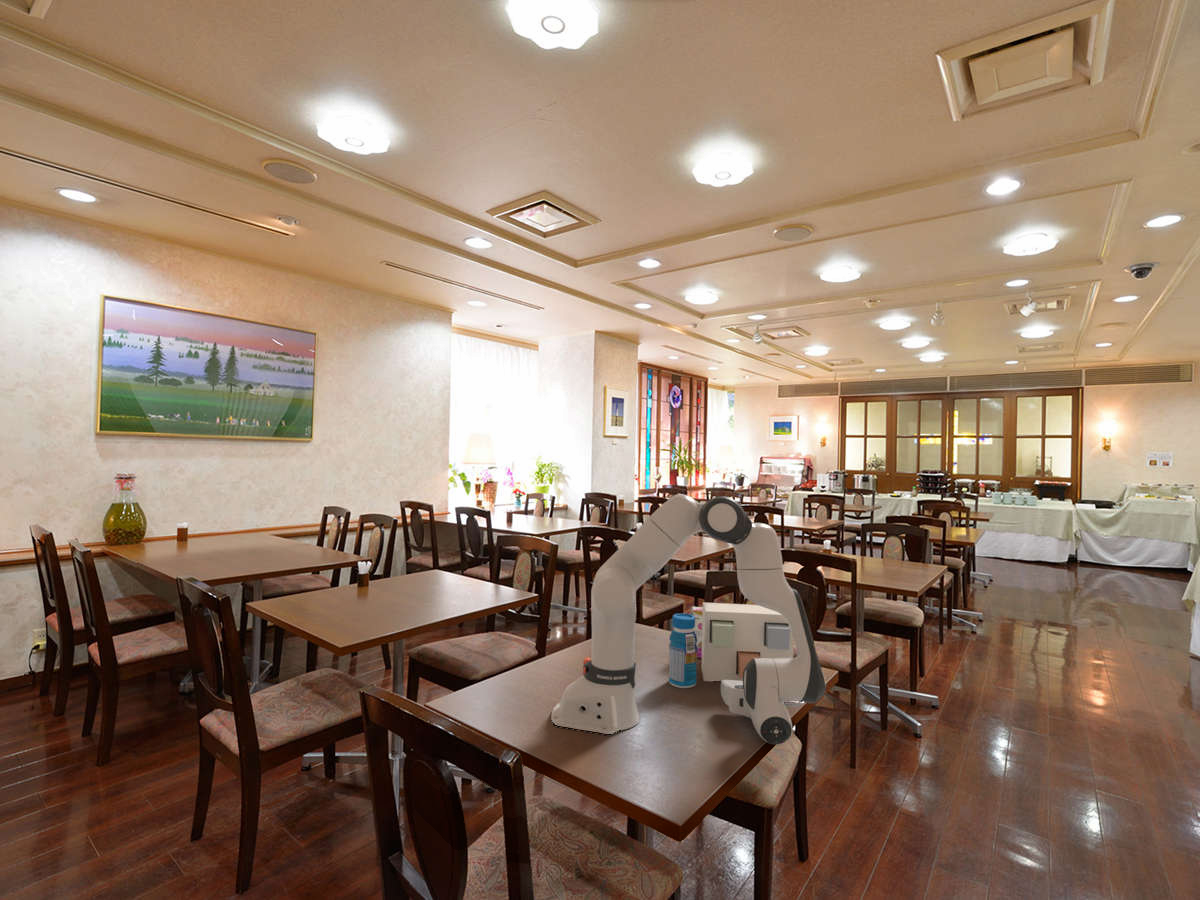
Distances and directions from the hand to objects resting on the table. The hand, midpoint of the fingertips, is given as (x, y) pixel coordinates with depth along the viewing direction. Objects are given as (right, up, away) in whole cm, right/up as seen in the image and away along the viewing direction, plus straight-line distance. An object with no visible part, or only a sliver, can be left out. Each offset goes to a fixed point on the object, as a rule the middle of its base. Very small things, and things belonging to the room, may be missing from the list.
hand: (755, 681), depth 161 cm
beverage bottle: (-18, -6, +13) cm, 23 cm away
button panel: (+2, -6, +18) cm, 20 cm away
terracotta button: (+1, -3, +13) cm, 13 cm away
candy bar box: (-7, -6, +35) cm, 37 cm away
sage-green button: (-7, +6, +13) cm, 16 cm away
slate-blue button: (+9, +6, +12) cm, 16 cm away
